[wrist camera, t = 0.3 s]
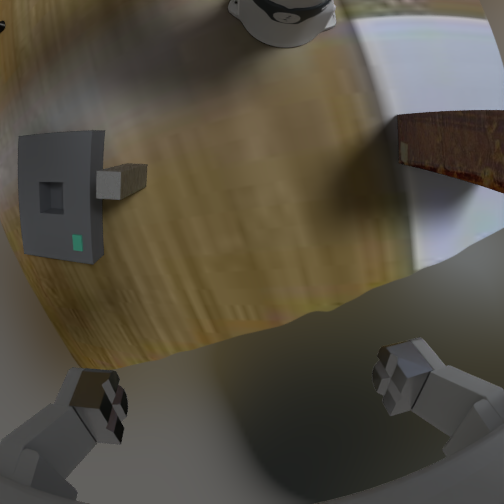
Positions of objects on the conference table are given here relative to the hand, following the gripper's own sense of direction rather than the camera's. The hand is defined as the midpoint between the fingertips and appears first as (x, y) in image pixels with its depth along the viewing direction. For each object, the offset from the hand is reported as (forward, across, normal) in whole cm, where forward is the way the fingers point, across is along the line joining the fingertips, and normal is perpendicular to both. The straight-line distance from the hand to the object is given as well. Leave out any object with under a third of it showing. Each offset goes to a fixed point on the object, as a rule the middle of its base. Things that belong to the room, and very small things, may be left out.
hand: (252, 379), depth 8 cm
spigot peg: (+47, +15, 0) cm, 49 cm away
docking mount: (+49, +32, +2) cm, 58 cm away
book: (+42, -44, -7) cm, 61 cm away
